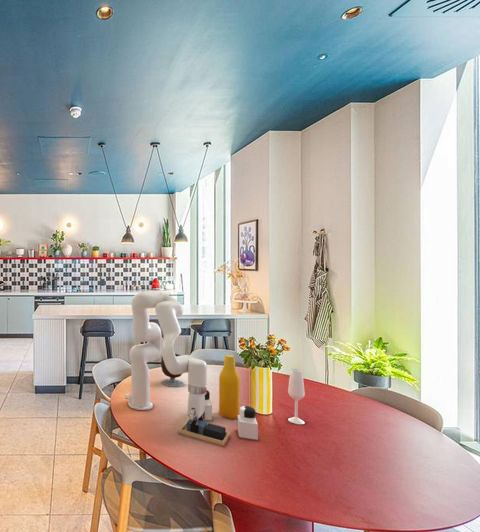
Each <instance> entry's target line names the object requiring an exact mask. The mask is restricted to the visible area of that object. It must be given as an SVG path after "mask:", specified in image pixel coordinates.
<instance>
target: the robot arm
mask: <svg viewBox="0 0 480 532" xmlns="http://www.w3.org/2000/svg"><path fill="white" fill-rule="evenodd" d="M147 309H154V312H155V314H156V319H157V320H158V323H156V322H152V321H151V322H150V314H149V311H148V310H147ZM131 312H132V338H133V340H134V341H135V342H136V343H141V344H135V345H133V346H132V347H131V348H130V349H129V354H128V355H129V360H130V368H131V369H130V370H131V371H130V372H131V373H130V374H131V375H130V376H131V377H130V378H131V379H130V380H131V383H130V384H131V385H130V387H131V388H130V389H131V390H130V394H129V393H125V394H124V399H125V400H128V402H127V405H128V407H129V408H131V409H133V410H137V411H148V410H151V409H153V408H154V403H153V402H152V401H151V370H150V368H149V365H148V363H151V362H156V361H158V360H159V359H160V358H162V357H163V360H164V363H165V366H166V368H167V370H168V371H169V372H170V373H171V374H173V375H178V374H182V373H183V374H187V377H188V378H187V392H188V399H187V417H189V419H190V421H191V422H190V424H191V430H190V432H193V433H196V434H198V420H202V421H204V420H203V413H204V411H205V394H206V390H207V380H208V379H207V373H208V372H207V368H208V367H207V362H206V361H205V360H203V359H200V358H196V357H194V356H192V355H190V354H181V355H182V356H177V357H176V356H175V354H176V353H175V349H174V345H175V341H176V340H177V338H178V337H179V336H180V335H181V333H182V328H181V326H180V323H179V321H178V318H181V317H182V316H183V313H184V307H183V305H182V304H181V302H179V300H177V299H176V298H174V297H173V296H171V295H170V294H168V293H166V292H165V291H161V290H155V291H154V290H153V291H149V290H148V291H140V292H137V293H135V295H134V296H133V297H132V299H131ZM162 335H163V339H162ZM145 342H146V343H145ZM183 374H182V375H183ZM195 415H196V417H194V416H195ZM194 418H195V419H196V421H195V420H194Z"/></svg>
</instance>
